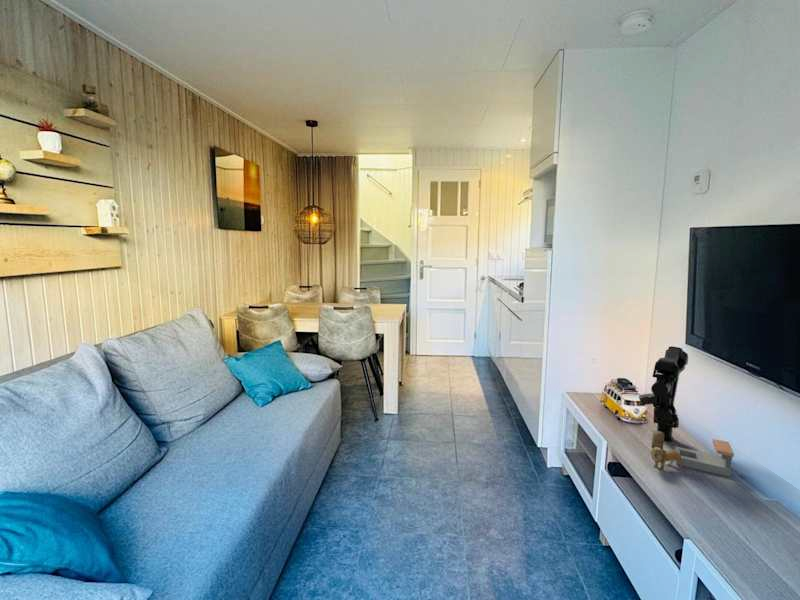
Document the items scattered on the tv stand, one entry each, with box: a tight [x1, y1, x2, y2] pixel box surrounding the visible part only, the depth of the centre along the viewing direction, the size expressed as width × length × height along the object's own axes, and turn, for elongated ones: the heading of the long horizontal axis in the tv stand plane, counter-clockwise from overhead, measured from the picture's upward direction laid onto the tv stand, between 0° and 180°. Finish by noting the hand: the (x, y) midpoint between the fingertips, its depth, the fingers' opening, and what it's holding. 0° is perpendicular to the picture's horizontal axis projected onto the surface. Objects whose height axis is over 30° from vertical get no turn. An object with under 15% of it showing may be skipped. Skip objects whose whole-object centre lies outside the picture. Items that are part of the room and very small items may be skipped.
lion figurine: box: [650, 447, 684, 472], centre depth 162 cm, size 15×5×9 cm, turn 108°
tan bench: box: [712, 438, 735, 469], centre depth 163 cm, size 11×5×9 cm, turn 151°
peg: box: [651, 430, 665, 450], centre depth 178 cm, size 4×4×7 cm
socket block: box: [674, 446, 732, 478], centre depth 166 cm, size 10×17×3 cm, turn 61°
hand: (659, 426), depth 177 cm, fingers open, 9 cm apart
